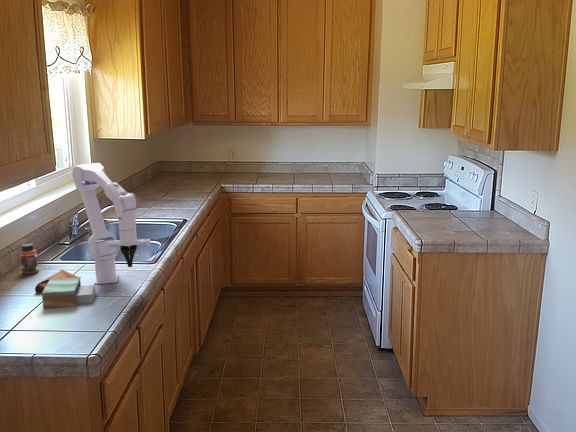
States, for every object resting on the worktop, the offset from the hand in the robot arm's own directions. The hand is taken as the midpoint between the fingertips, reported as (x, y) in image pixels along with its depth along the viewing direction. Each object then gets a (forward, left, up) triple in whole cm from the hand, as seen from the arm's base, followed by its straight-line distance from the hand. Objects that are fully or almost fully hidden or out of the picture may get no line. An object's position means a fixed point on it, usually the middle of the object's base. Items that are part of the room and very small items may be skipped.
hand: (130, 266), depth 195 cm
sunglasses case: (-13, -27, -10) cm, 31 cm away
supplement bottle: (-30, -40, -10) cm, 51 cm away
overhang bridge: (+4, -23, -9) cm, 25 cm away
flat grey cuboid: (+4, -20, -9) cm, 22 cm away
